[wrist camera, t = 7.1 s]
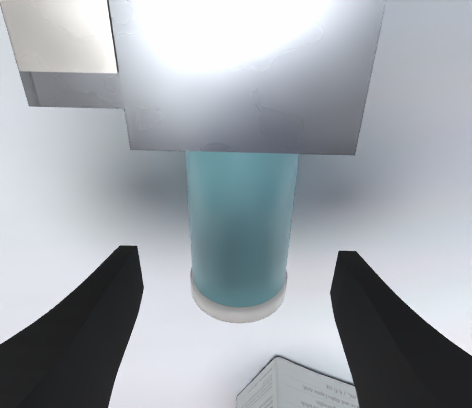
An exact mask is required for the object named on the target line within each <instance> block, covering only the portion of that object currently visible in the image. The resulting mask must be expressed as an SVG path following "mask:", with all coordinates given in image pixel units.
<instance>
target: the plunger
mask: <svg viewBox="0 0 472 408" xmlns="http://www.w3.org/2000/svg"><path fill="white" fill-rule="evenodd" d="M0 4H1V7H2V11H3V15H4V18H5V22H6V25H7V29H8V32H9V36H10V39H11V43H12V46H13V50H14V53H15V57H16V60H17V64H18V68H19V71H30V72H76V73H119V68H118V61H117V54H116V47H115V40H114V33H113V26H112V20H111V13H110V6H109V0H0Z"/></svg>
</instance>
